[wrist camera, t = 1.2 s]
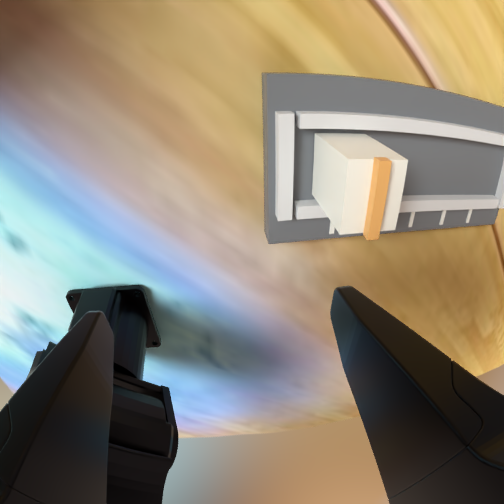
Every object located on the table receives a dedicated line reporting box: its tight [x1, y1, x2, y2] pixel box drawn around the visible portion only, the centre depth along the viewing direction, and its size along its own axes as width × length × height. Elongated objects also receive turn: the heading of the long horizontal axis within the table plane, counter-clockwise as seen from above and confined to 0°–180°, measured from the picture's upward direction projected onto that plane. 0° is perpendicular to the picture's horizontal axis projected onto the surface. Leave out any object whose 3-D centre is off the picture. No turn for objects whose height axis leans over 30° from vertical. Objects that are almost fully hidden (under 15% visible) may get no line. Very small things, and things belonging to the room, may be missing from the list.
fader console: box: [262, 73, 504, 244], centre depth 18 cm, size 10×20×2 cm, turn 92°
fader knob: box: [312, 133, 408, 240], centre depth 15 cm, size 4×3×5 cm
